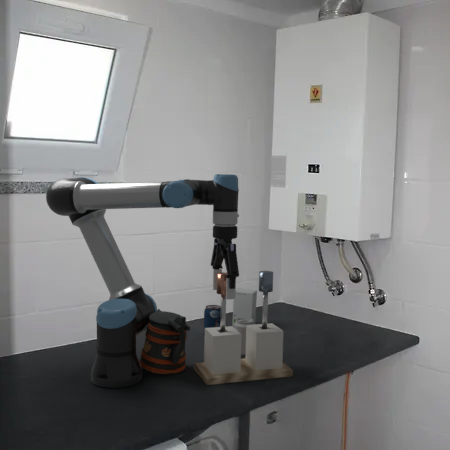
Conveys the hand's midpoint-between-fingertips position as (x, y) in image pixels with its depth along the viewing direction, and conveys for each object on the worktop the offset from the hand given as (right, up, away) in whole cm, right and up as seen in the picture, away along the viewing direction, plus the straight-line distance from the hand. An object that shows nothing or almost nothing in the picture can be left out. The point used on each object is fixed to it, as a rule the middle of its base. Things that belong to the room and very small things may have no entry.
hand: (223, 294), depth 181 cm
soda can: (-4, -21, +41) cm, 47 cm away
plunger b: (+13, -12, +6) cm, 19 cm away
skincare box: (+8, -20, +55) cm, 59 cm away
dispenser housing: (+6, -23, +5) cm, 25 cm away
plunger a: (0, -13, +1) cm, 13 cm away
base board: (+6, -25, +5) cm, 26 cm away
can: (+7, -24, +24) cm, 34 cm away
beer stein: (-18, -24, +5) cm, 31 cm away
